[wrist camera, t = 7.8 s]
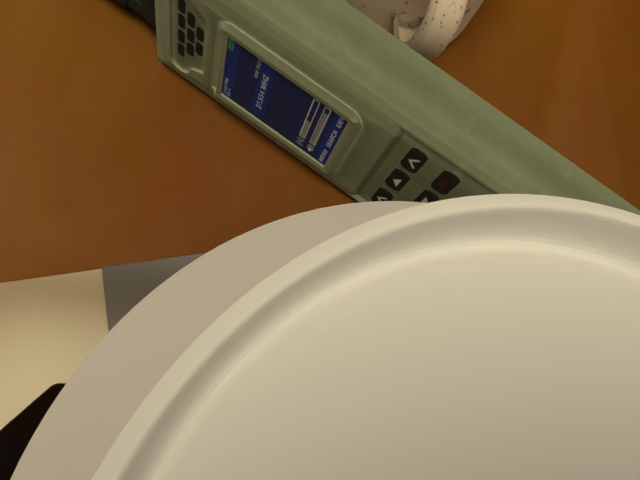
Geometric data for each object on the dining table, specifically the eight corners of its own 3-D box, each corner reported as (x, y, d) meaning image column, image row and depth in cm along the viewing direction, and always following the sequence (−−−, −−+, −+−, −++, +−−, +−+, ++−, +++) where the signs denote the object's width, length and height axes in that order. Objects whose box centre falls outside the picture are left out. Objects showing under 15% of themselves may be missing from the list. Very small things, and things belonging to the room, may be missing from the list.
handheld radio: (529, 341, 23) (31, -13, 22) (558, 278, 24) (87, -56, 24) (660, 305, 17) (-23, -180, 16) (688, 224, 18) (57, -225, 18)
